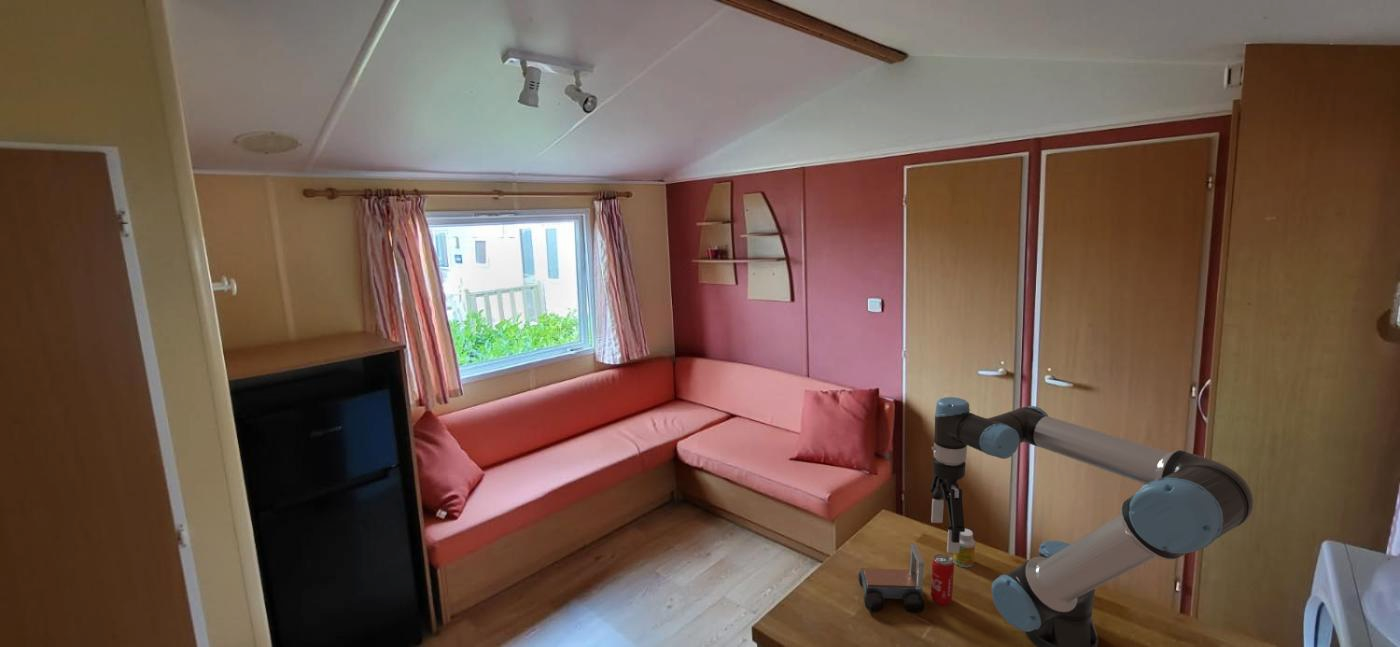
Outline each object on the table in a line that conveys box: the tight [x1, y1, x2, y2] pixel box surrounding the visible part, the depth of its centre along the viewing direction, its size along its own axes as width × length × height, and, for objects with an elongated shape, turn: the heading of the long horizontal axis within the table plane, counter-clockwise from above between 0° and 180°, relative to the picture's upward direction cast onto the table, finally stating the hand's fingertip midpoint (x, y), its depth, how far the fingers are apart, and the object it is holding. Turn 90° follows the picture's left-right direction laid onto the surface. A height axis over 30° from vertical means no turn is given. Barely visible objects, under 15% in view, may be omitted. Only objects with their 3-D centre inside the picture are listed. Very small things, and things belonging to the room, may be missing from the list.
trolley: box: [857, 543, 926, 614], centre depth 159 cm, size 15×11×14 cm
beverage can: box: [930, 553, 955, 607], centre depth 158 cm, size 5×5×12 cm
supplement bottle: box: [952, 528, 976, 568], centre depth 173 cm, size 5×5×10 cm
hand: (944, 536), depth 155 cm, fingers open, 13 cm apart
